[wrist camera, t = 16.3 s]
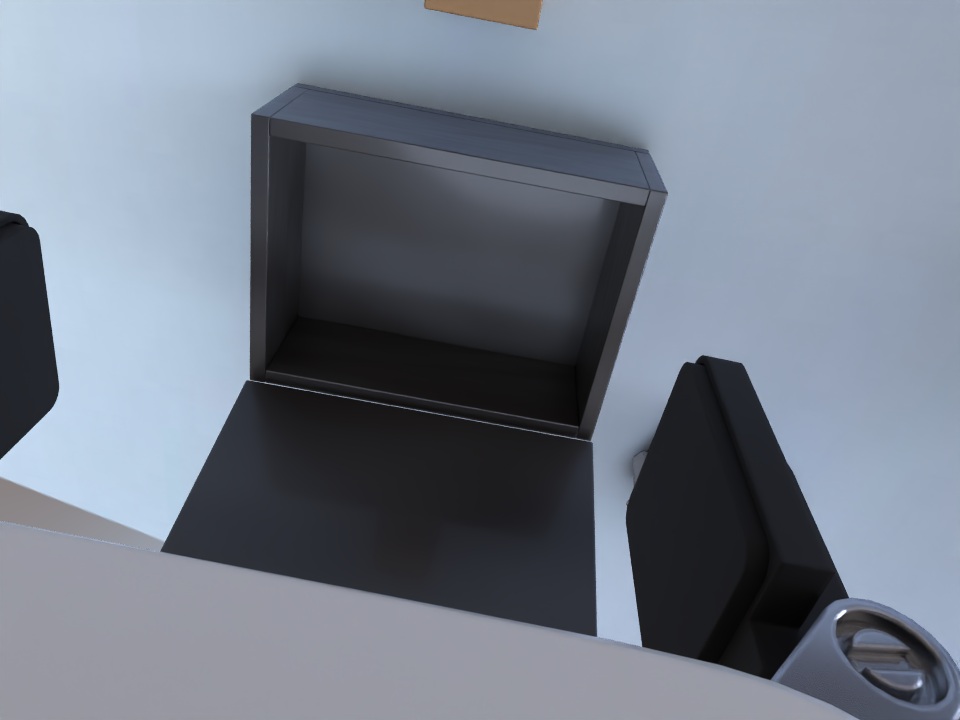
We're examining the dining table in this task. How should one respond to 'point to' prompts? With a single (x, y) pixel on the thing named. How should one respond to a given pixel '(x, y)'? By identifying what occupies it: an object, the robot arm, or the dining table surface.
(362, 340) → the chest
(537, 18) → the package
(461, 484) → the lid
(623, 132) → the dining table surface
